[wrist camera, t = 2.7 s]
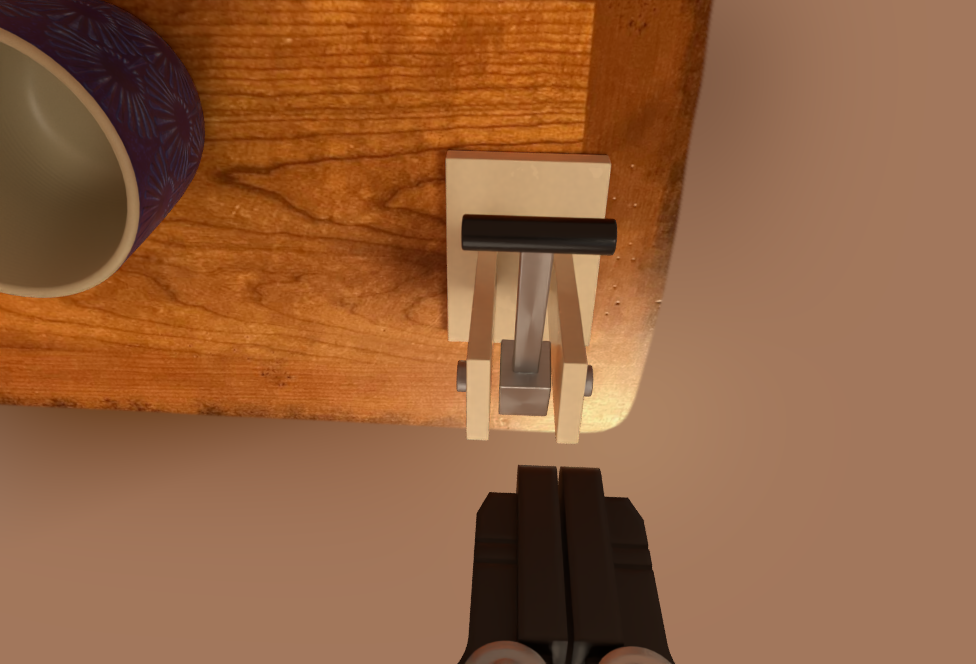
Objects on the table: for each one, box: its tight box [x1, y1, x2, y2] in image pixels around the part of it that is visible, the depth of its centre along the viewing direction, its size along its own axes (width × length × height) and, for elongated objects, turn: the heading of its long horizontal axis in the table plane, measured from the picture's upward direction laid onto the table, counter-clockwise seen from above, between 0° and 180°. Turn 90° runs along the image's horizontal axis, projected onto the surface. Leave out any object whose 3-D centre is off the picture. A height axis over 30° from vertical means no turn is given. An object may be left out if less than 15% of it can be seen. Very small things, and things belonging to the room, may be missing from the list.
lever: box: [461, 214, 617, 416], centre depth 28 cm, size 12×5×2 cm, turn 178°
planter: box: [0, 0, 205, 298], centre depth 34 cm, size 12×12×11 cm
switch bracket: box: [445, 150, 611, 444], centre depth 36 cm, size 12×9×15 cm
